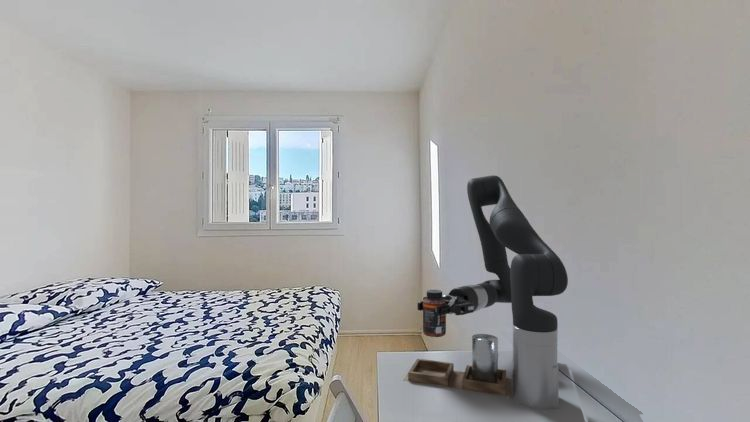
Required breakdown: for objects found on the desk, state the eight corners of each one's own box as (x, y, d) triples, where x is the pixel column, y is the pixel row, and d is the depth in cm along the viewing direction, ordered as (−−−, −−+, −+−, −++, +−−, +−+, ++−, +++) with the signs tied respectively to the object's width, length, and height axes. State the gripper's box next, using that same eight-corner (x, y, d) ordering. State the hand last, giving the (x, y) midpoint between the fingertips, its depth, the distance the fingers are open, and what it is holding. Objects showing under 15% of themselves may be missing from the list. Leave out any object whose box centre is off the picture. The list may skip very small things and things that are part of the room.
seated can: (498, 380, 97) (498, 335, 97) (497, 390, 91) (497, 343, 91) (473, 376, 99) (473, 332, 99) (470, 386, 93) (470, 340, 93)
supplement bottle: (445, 338, 99) (445, 293, 99) (421, 337, 100) (421, 292, 100) (446, 331, 105) (446, 289, 105) (423, 330, 106) (423, 288, 106)
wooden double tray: (511, 383, 98) (511, 370, 98) (510, 401, 88) (510, 387, 88) (413, 369, 106) (413, 357, 106) (403, 384, 97) (403, 371, 97)
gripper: (448, 282, 117) (407, 289, 106) (490, 289, 106) (449, 299, 95) (448, 307, 117) (407, 317, 106) (490, 317, 106) (449, 330, 95)
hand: (427, 308), depth 101 cm, fingers closed on supplement bottle, 6 cm apart
